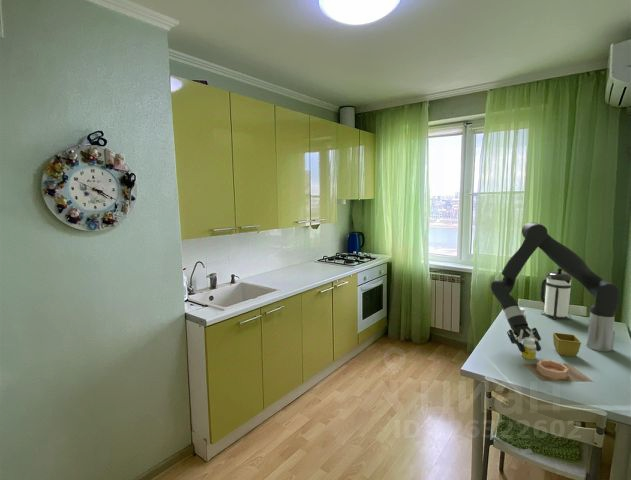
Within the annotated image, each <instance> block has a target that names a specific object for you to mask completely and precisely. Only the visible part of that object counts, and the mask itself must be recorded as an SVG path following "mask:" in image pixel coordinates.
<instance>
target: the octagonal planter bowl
mask: <svg viewBox="0 0 631 480" xmlns="http://www.w3.org/2000/svg"><path fill="white" fill-rule="evenodd" d="M536 364H537V371H538V372H539V373H541V374H542V375H543V376H546V377H549V378H552V379H566V378H567V376H568V370H569V369H568V368H567V367H566V366H565V365H563V364H564V363H563V362H559V361H555V360H551V359H540V360H539V361H538V362H537V363H536Z"/></svg>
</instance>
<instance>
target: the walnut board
mask: <svg viewBox="0 0 631 480" xmlns="http://www.w3.org/2000/svg"><path fill="white" fill-rule="evenodd" d="M562 364H563V365H565V366H566V367H567V368H568V369H569V370H568V376H567V378H566V379H552V378H549V377H546V376H543V375H542V374H541V373H539V372H538V371H537V363H523V366H525V367H526V369H528V371H530V372H531V373H532V374H533V375H535V376H536V377H537V378H538V380H540V381H541V382H594V381H593V380H592V379H591V378H589V377H588V376H587V375H586V374H584V373H583V372H581V371H580V370H579V369H577V368H576V367H575V366H573V365H572V364H571V363H562Z"/></svg>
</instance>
